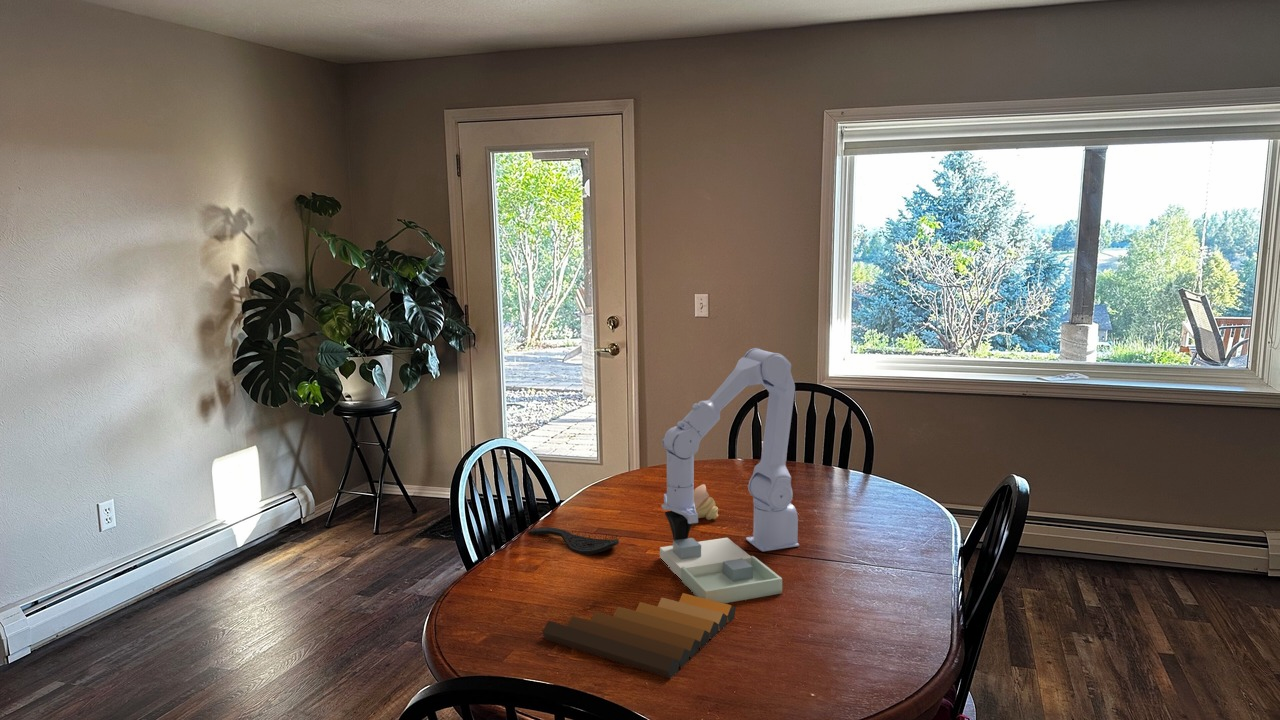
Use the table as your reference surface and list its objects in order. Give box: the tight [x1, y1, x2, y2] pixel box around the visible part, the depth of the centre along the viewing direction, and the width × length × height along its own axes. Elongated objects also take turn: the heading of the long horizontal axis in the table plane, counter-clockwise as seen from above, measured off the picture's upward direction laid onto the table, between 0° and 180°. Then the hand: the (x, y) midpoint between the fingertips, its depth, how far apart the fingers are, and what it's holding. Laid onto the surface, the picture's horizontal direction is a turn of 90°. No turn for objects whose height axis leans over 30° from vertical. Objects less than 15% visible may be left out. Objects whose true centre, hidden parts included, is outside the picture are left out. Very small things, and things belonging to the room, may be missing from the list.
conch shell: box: [694, 483, 719, 521], centre depth 196 cm, size 9×10×10 cm
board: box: [659, 537, 752, 580], centre depth 170 cm, size 16×12×2 cm
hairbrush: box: [529, 526, 620, 556], centre depth 182 cm, size 8×4×25 cm
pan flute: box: [541, 592, 736, 679], centre depth 142 cm, size 25×3×25 cm
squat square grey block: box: [723, 558, 753, 582], centre depth 162 cm, size 4×4×2 cm
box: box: [680, 555, 783, 604], centre depth 158 cm, size 16×12×3 cm
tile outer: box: [672, 537, 701, 560], centre depth 169 cm, size 4×4×2 cm
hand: (680, 544), depth 172 cm, fingers closed
